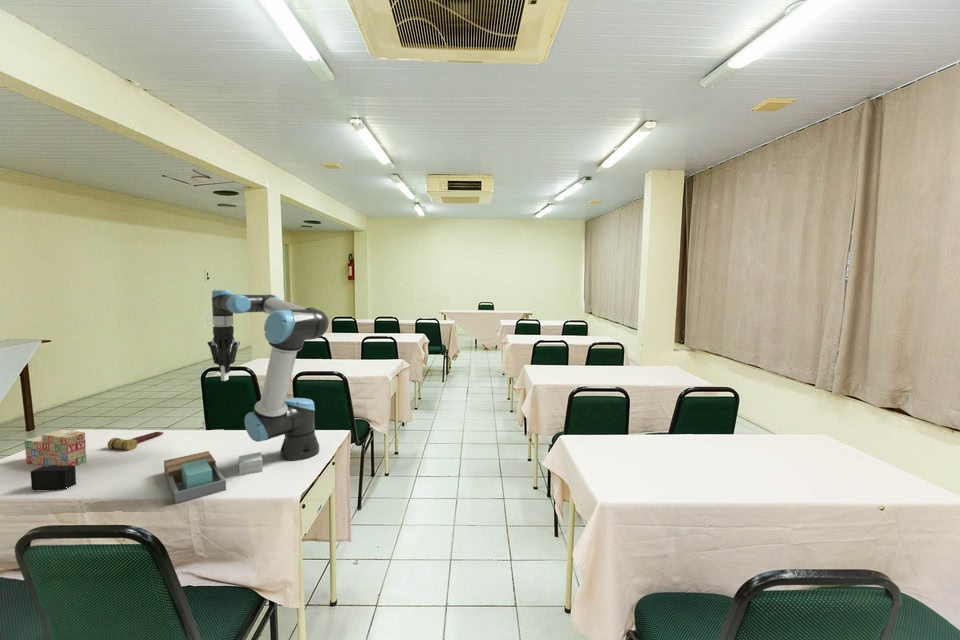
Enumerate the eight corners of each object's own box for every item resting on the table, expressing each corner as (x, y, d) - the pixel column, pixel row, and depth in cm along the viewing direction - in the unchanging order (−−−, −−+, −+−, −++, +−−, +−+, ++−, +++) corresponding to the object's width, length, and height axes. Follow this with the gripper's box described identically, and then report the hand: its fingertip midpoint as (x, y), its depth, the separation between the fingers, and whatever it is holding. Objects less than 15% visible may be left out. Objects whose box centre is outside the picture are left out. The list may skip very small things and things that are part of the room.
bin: (169, 486, 143) (168, 476, 143) (216, 474, 153) (215, 465, 152) (175, 504, 132) (175, 493, 131) (226, 490, 141) (225, 480, 141)
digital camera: (79, 482, 145) (78, 463, 145) (66, 490, 140) (65, 470, 139) (46, 483, 144) (45, 464, 143) (31, 491, 138) (30, 471, 138)
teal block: (181, 464, 144) (187, 475, 135) (205, 458, 149) (212, 469, 140) (182, 483, 144) (187, 496, 136) (205, 477, 149) (212, 489, 140)
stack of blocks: (25, 463, 160) (23, 432, 159) (45, 457, 166) (43, 427, 165) (68, 469, 156) (66, 437, 155) (87, 462, 162) (85, 431, 161)
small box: (261, 464, 163) (261, 451, 162) (262, 472, 156) (262, 458, 155) (238, 468, 159) (238, 455, 158) (239, 476, 152) (238, 463, 151)
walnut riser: (164, 473, 153) (164, 460, 152) (209, 463, 162) (208, 451, 162) (169, 486, 143) (168, 472, 143) (216, 474, 153) (215, 461, 152)
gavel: (154, 426, 195) (172, 428, 193) (154, 436, 195) (172, 438, 193) (107, 439, 174) (127, 441, 173) (107, 450, 174) (126, 452, 173)
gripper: (243, 325, 180) (244, 378, 181) (214, 324, 180) (216, 377, 182) (232, 326, 172) (234, 382, 174) (202, 326, 172) (204, 381, 174)
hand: (224, 380), depth 178 cm, fingers closed
